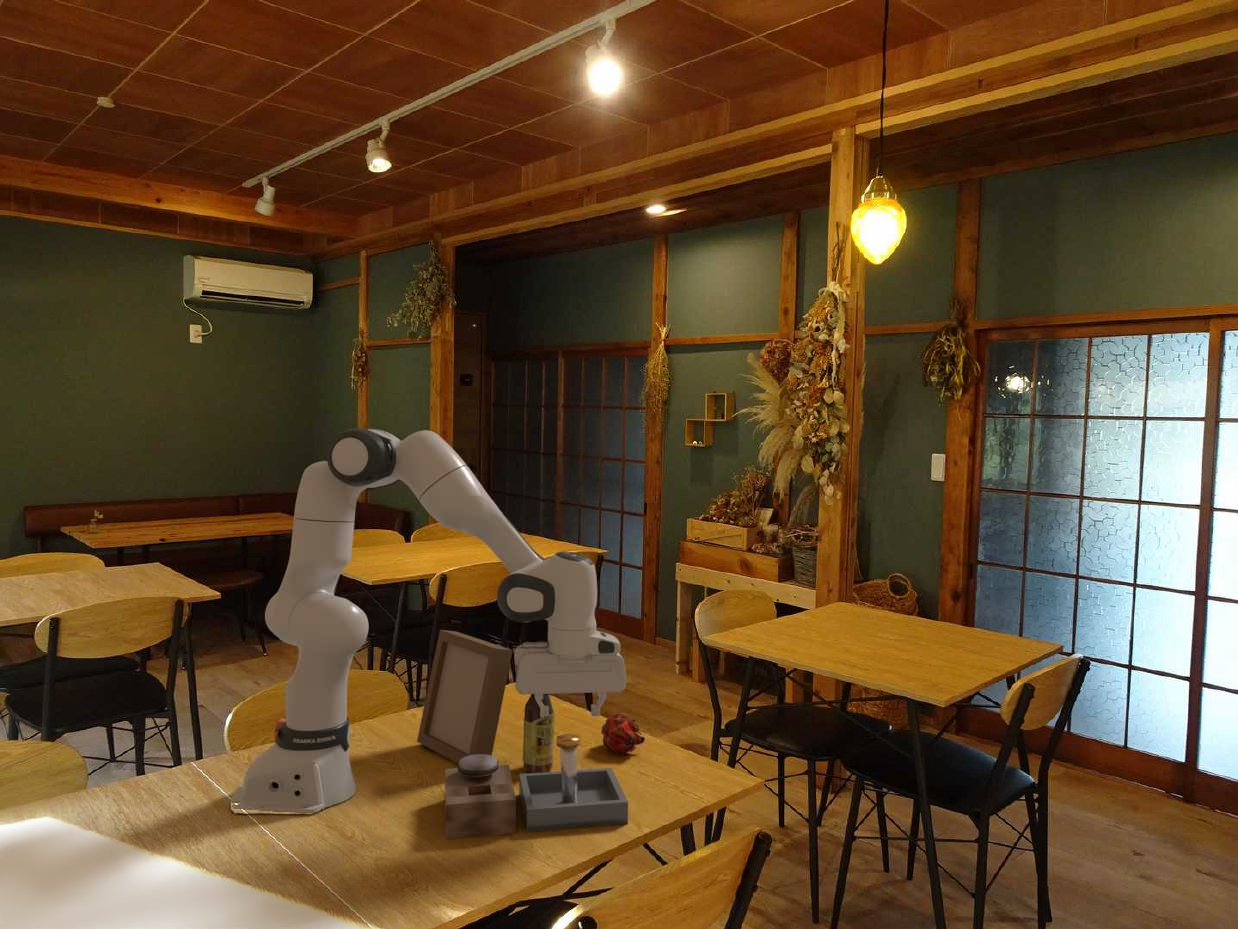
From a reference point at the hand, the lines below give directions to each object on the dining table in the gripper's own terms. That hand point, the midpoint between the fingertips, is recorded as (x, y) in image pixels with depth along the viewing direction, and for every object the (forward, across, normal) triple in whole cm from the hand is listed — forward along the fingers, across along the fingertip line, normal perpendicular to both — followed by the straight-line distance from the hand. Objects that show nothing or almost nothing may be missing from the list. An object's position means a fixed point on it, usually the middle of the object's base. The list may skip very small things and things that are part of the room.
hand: (570, 716), depth 166 cm
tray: (+18, +1, +1) cm, 18 cm away
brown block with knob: (+18, -16, +1) cm, 24 cm away
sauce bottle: (+18, -4, +21) cm, 28 cm away
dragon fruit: (+17, +15, +28) cm, 36 cm away
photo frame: (+18, -17, +33) cm, 41 cm away
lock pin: (+17, 0, +1) cm, 17 cm away
